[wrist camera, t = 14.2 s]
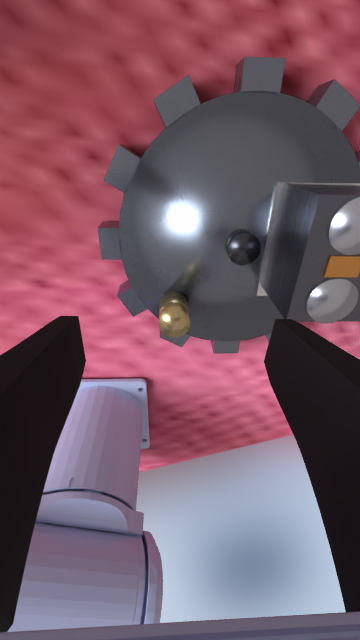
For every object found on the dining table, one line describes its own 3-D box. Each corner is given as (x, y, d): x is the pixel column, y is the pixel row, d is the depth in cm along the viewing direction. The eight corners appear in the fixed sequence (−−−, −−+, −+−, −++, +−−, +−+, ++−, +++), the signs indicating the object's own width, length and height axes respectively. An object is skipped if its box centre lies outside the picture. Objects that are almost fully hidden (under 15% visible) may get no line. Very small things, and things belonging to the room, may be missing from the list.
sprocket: (407, 237, 18) (464, 259, 15) (218, 371, 24) (227, 410, 20) (267, -40, 12) (311, -120, 8) (50, 236, 17) (21, 259, 14)
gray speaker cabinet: (283, 183, 14) (322, 195, 11) (358, 185, 15) (419, 197, 11) (262, 287, 18) (287, 323, 14) (323, 288, 18) (363, 323, 14)
